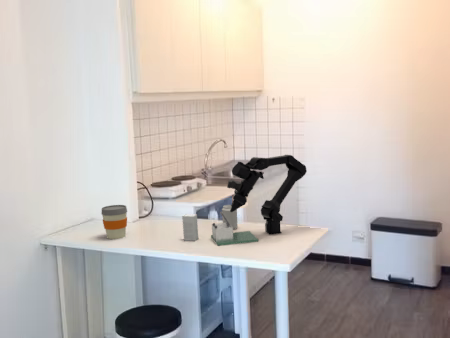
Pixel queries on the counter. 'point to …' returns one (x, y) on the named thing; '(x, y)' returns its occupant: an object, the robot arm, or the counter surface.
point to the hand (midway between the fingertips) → (231, 209)
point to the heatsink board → (239, 238)
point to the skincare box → (190, 227)
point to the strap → (224, 218)
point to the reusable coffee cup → (115, 221)
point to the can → (230, 216)
